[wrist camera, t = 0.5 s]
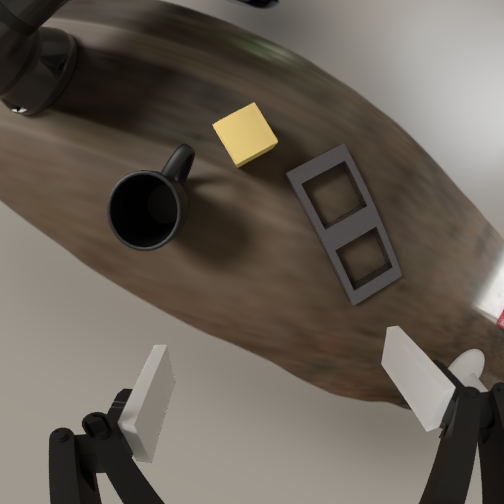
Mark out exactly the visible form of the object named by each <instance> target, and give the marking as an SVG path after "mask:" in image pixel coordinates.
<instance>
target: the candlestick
mask: <svg viewBox="0 0 504 504" xmlns="http://www.w3.org/2000/svg"><path fill="white" fill-rule="evenodd" d="M484 360H485V359H484V354H483V353H482V352H481V351H480V350H479V349H471V350H468V351H466V352H464V353H463V354H461V355H460V356H459V357H458V358H456V359H455V360H454V361H453V363H452V364H451V365H450V366H449V367H448V370H450V371H451V372H452V374H454V375H455V376H456V377H457V378H458V379H459V381H460V382H461V383H462V384H463V385H464V386H465V387H467V386H472V387H475V388H477V389H478V390H479V391H480V392H488V390H487V389H486V388H485V386H484V385H483V384H482V383H481V382H480V381H479V377H480V375H481V373H482V370H483V367H484Z"/></svg>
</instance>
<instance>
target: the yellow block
mask: <svg viewBox="0 0 504 504" xmlns="http://www.w3.org/2000/svg"><path fill="white" fill-rule="evenodd" d="M213 127H214V129H215V131H216V132H217V134H218V136H219V138H220V139H221V141H222V143H223V144H224V146H225V148H226V150H227V151H228V153H229V155H230V156H231V158H232V160H233V161H234V163H235V165H236V167H237V168H238V167H240V166H242V165H244V164H246V163H247V162H249V161H251V160H253V159H255V158H256V157H258V156H260V155H262V154H264V153H266V152H268V151H269V150H271V149H273V147H274V146H275V145H276V144H277V143H278V140H277V139H276V137H275V135H274V134H273V132H272V130H271V129H270V127H269V125H268V124H267V122H266V120H265V119H264V117H263V115H262V114H261V112H260V110H259V109H258V107H257V106H256V104H255V102H254V103H252V104H250V105H248V106H246V107H244V108H242V109H240V110H238V111H236V112H234V113H233V114H231V115H229V116H227V117H225V118H223V119H222V120H220V121H218V122H216V123H214V124H213Z"/></svg>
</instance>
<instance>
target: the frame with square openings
mask: <svg viewBox="0 0 504 504" xmlns="http://www.w3.org/2000/svg"><path fill="white" fill-rule="evenodd" d="M339 163H341V164H342V166H343V168H344V170H345V172H346V174H347V176H348V178H349V180H350V182H351V184H352V186H353V188H354V190H355V192H356V194H357V196H358V198H359V200H360V202H361V205H360V206H359V207H357V208H355V209H353V210H352V211H350V212H348V213H346V214H344V215H343V216H341V217H339V218H337V219H336V220H334V221H332V222H330V223H329V224H327V225H325V226H323V225H322V223H321V221H320V219H319V217H318V215H317V213H316V211H315V209H314V207H313V205H312V203H311V202H310V200H309V198H308V196H307V194H306V192H305V190H304V188H303V187H302V185H301V184H302V183H304V182H306V181H308V180H309V179H311V178H313V177H315V176H317V175H319V174H321V173H322V172H324V171H326V170H328V169H330V168H332V167H334V166H336V165H338V164H339ZM284 175H285V177H286V179H287V180H288V182H289V184H290V186H291V188H292V190H293V191H294V193H295V195H296V197H297V199H298V201H299V202H300V204H301V206H302V208H303V210H304V212H305V214H306V216H307V217H308V219H309V221H310V223H311V225H312V227H313V229H314V231H315V233H316V235H317V237H318V239H319V241H320V243H321V245H322V247H323V249H324V251H325V253H326V255H327V257H328V259H329V261H330V263H331V265H332V267H333V269H334V271H335V273H336V275H337V277H338V279H339V281H340V283H341V286H342V288H343V290H344V292H345V294H346V296H347V298H348V301H349V302H350V303H351V304H352V305H353V306H354V305H356V304H357V303H359V302H361V301H362V300H364V299H366V298H367V297H369V296H371V295H372V294H374V293H376V292H377V291H379V290H380V289H382V288H384V287H385V286H387V285H388V284H390V283H391V282H393V281H395V280H396V279H398V278H399V277H401V276H402V273H401V270H400V267H399V265H398V262H397V259H396V256H395V254H394V251H393V249H392V246H391V243H390V241H389V238H388V236H387V233H386V231H385V228H384V226H383V224H382V221H381V219H380V217H379V214H378V212H377V210H376V207H375V205H374V203H373V201H372V198H371V196H370V194H369V192H368V190H367V188H366V185H365V183H364V181H363V179H362V177H361V175H360V173H359V171H358V169H357V167H356V165H355V163H354V161H353V159H352V157H351V155H350V153H349V151H348V149H347V147H346V146H345V144H344V143H343V144H340V145H338V146H336V147H334V148H332V149H330V150H328V151H326V152H324V153H322V154H320V155H318V156H317V157H315V158H313V159H311V160H309V161H307V162H305V163H303V164H301V165H299V166H298V167H296V168H294V169H292V170H290V171H288V172H286V173H284ZM371 229H373V232H374V234H375V236H376V239H377V241H378V243H379V246H380V248H381V251H382V253H383V256H384V258H385V261H386V263H387V264H385V265H383V266H382V267H380V268H379V269H377V270H375V271H374V272H372V273H370V274H369V275H367V276H365V277H364V278H362V279H360V280H359V281H357V282H355V283H354V284H352V285H351V283H350V281H349V279H348V277H347V274H346V272H345V270H344V268H343V266H342V264H341V262H340V259H339V257H338V255H337V253H336V251H335V250H337V249H338V248H340V247H342V246H344V245H345V244H347V243H349V242H351V241H352V240H354V239H356V238H357V237H359V236H361V235H362V234H364V233H366V232H368V231H369V230H371Z"/></svg>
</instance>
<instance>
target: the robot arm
mask: <svg viewBox="0 0 504 504" xmlns="http://www.w3.org/2000/svg"><path fill="white" fill-rule="evenodd" d="M69 1H71V0H0V101H1V102H2V103H3V104H4V105H5V106H6V107H8V108H9V109H10V110H11V111H13V112H15V113H18V114H22V115H33V114H36V113H39V112H41V111H42V110H44V109H46V108H47V107H48V106H49V105H51V104H52V103H53V102H54V101H55V100H56V99H57V98H58V96H59V95H60V94H61V93H62V91H63V90H64V88H65V87H66V85H67V84H68V82H69V80H70V78H71V76H72V74H73V71H74V68H75V65H76V61H77V45H76V42H75V40H74V39H73V37H72V36H70V35H69V34H68V33H66V32H65V31H63V30H61V29H57V28H49V27H40V26H41V25H42V24H44V23H45V22H46V21H47V20H48V19H49V18H50V17H51V16H53V15H54V14H55V13H56V12H57V11H58V10H60V9H61V8H62V7H63V6H64V5H66V4H67V3H68V2H69ZM381 365H382V366H383V367H384V369H385V370H386V372H387V373H388V375H389V376H390V378H391V379H392V380H393V382H394V383H395V385H396V386H397V388H398V389H399V391H400V392H401V394H402V395H403V397H404V398H405V400H406V401H407V403H408V404H409V406H410V407H411V409H412V410H413V411H414V413H415V415H416V416H417V418H418V419H419V420H420V422H421V424H422V425H423V427H424V428H425V430H426V431H427V432H428V431H430V430H433V429H436V428H438V427H439V425H440V423H441V421H442V419H443V421H444V422H445V423H446V424H445V426H444V428H443V431H442V432H441V434H440V436H439V438H441V441H440V444H439V447H438V451H437V454H436V458H435V461H434V464H433V467H432V470H431V473H430V476H429V479H428V481H427V484H426V487H425V490H424V492H423V495H422V497H421V500H420V502H419V504H464V503H465V500H466V496H467V492H468V488H469V484H470V479H471V475H472V470H473V465H474V460H475V453H476V448H477V442H478V449H479V457H480V467H481V480H482V498H483V499H482V503H483V504H504V383H502V382H499V383H496V384H494V385H493V387H492V389H491V391H488V392H480V391H479V390H478V389H477V388H475V387H472V386H467V387H465V386H464V385H463V384H462V383H461V382H460V381H459V379H458V378H457V377H456V376H455V375H454V374H452V372H451V371H450V370H448V368H447V367H446V366H445V365H444V364H443V363H441V362H439V361H438V360H433V361H431V360H430V359H429V357H428V356H427V355H426V354H425V353H424V352H423V351H422V350H421V349H420V348H419V347H418V346H417V345H416V344H415V343H414V342H413V341H412V340H411V339H410V338H409V337H408V335H407V334H406V333H405V332H404V331H403V330H402V329H401V328H400V327H399V326H393V327H387V333H386V339H385V345H384V351H383V357H382V362H381ZM174 384H175V379H174V374H173V370H172V366H171V362H170V357H169V352H168V347H167V345H154V347H153V349H152V351H151V353H150V355H149V357H148V360H147V361H146V363H145V365H144V368H143V370H142V372H141V374H140V376H139V378H138V380H137V382H136V384H135V386H134V389H123V390H122V391H120V392H119V393H118V394H117V396H116V398H115V399H114V402H113V403H112V405H111V408H110V409H109V411H108V413H107V415H106V414H104V413H102V412H94V413H91V414H88V415H87V416H86V417H85V418H84V419H83V421H82V427H83V429H84V431H85V432H86V434H84V435H74V433H73V432H72V431H71V430H70V429H68V428H58V429H56V430H54V431H53V432H52V433H51V435H50V438H49V487H50V502H51V504H102V503H101V498H100V493H99V488H98V483H97V477H96V473H106V474H107V476H108V478H109V480H110V481H111V483H112V485H113V487H114V488H115V490H116V492H117V494H118V495H119V497H120V499H121V500H122V502H123V503H124V504H165V503H164V502H163V501H162V500H161V498H160V497H159V496H158V495H157V493H156V492H155V491H154V489H153V488H152V487H151V485H150V484H149V482H148V481H147V480H146V478H145V477H144V475H143V474H142V473H141V471H140V470H139V468H138V467H137V465H136V464H135V462H134V461H133V459H132V455H134V457H135V459H136V461H140V462H148V463H152V460H153V457H154V453H155V449H156V446H157V442H158V439H159V435H160V432H161V428H162V424H163V421H164V418H165V414H166V411H167V408H168V404H169V401H170V398H171V394H172V391H173V388H174Z"/></svg>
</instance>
